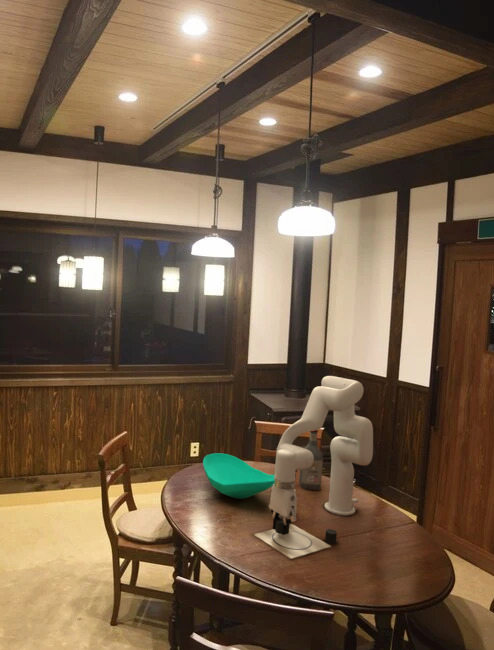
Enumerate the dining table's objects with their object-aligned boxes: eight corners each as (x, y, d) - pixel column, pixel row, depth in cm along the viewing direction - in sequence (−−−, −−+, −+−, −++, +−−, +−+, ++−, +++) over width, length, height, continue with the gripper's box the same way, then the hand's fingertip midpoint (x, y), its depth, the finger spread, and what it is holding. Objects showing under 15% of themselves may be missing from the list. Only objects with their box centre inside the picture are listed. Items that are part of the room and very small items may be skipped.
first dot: (280, 528, 204) (281, 518, 203) (288, 532, 200) (289, 522, 200) (273, 530, 201) (273, 520, 201) (280, 534, 198) (281, 524, 198)
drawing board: (292, 524, 213) (292, 523, 213) (331, 547, 196) (331, 545, 196) (253, 535, 202) (253, 533, 202) (291, 559, 185) (291, 558, 185)
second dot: (330, 538, 203) (330, 528, 202) (338, 543, 199) (339, 532, 199) (322, 540, 201) (323, 530, 200) (330, 545, 197) (331, 534, 197)
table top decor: (292, 505, 232) (294, 475, 231) (245, 518, 216) (247, 486, 215) (231, 476, 264) (233, 449, 263) (186, 485, 248) (188, 457, 247)
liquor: (321, 490, 251) (326, 428, 249) (302, 489, 251) (306, 426, 249) (316, 483, 260) (321, 423, 258) (298, 482, 260) (302, 421, 259)
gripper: (307, 489, 195) (304, 538, 196) (276, 474, 209) (272, 520, 210) (292, 493, 191) (289, 543, 192) (261, 477, 205) (258, 524, 206)
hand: (280, 530), depth 201 cm, fingers closed on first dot, 4 cm apart
